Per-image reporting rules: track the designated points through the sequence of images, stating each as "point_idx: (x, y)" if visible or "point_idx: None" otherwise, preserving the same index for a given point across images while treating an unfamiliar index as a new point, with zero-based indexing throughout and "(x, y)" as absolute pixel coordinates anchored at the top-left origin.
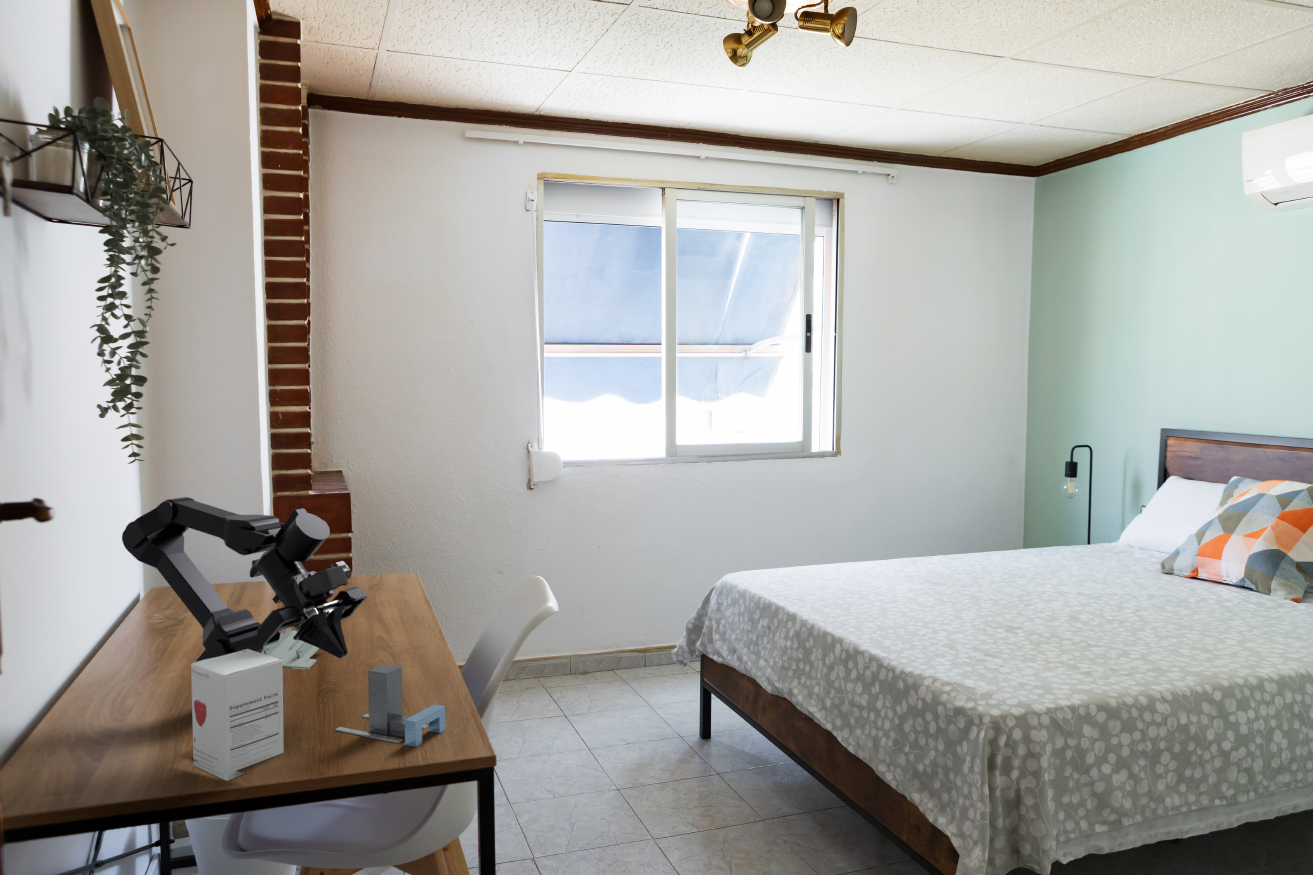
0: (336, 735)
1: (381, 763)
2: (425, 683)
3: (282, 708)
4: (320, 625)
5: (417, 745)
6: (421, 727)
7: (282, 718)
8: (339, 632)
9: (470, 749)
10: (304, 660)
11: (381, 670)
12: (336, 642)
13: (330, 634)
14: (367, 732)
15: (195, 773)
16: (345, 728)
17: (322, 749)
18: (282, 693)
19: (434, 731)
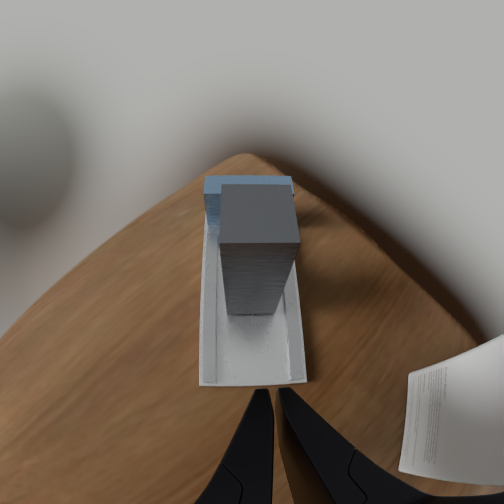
0: (292, 385)
1: (334, 234)
2: (12, 383)
3: (469, 350)
4: (432, 499)
5: None
6: None
7: (455, 356)
8: (252, 468)
9: (235, 167)
10: None
11: (278, 209)
12: (311, 425)
13: (342, 464)
14: (286, 306)
15: None
16: (293, 361)
17: (352, 354)
18: (492, 339)
19: None
